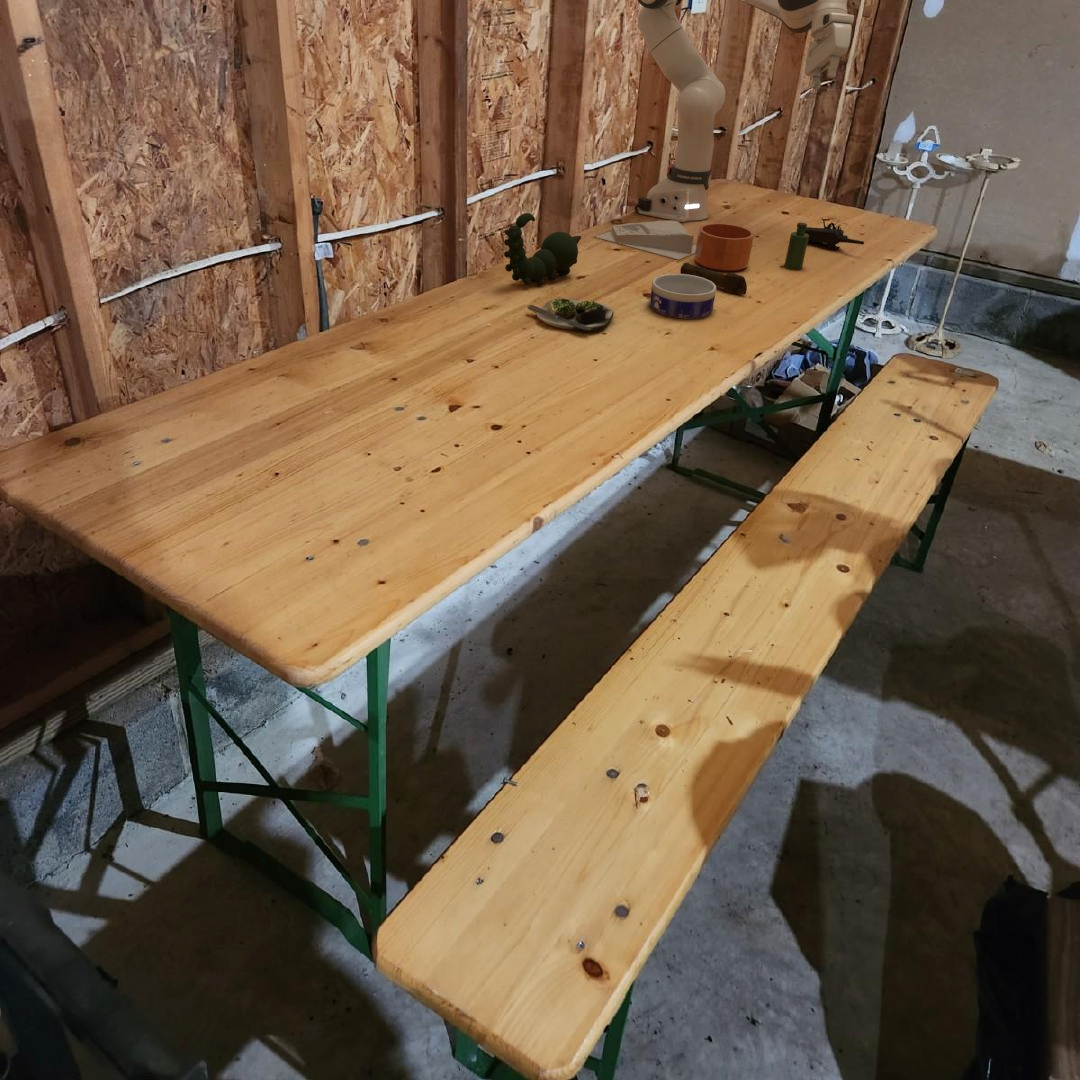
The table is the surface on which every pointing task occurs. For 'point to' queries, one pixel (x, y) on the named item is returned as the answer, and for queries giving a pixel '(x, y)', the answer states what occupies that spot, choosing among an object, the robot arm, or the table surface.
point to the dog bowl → (682, 296)
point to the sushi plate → (574, 315)
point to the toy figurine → (540, 254)
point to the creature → (832, 225)
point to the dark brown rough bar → (718, 278)
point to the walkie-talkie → (828, 237)
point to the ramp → (654, 238)
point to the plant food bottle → (797, 248)
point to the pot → (724, 246)
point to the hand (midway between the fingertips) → (823, 83)
